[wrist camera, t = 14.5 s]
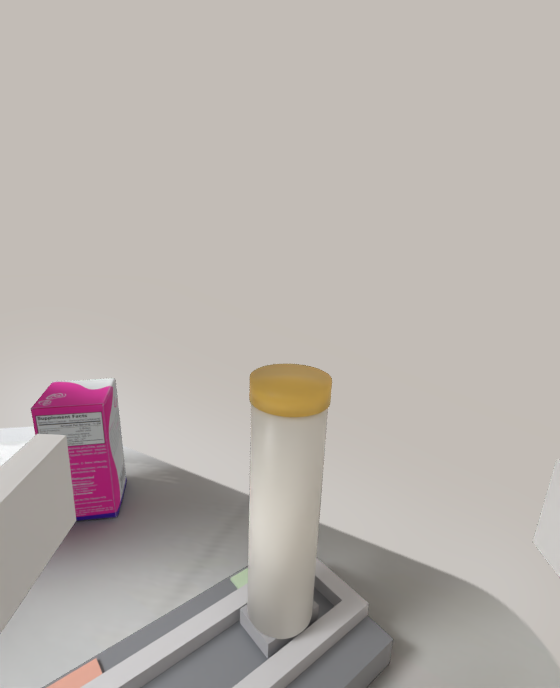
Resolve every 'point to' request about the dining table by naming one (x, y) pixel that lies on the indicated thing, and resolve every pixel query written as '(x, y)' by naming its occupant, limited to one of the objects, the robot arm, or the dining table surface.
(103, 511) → the supplement box
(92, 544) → the dining table surface
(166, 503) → the dining table surface
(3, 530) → the robot arm
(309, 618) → the switch handle
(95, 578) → the dining table surface
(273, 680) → the switch panel
